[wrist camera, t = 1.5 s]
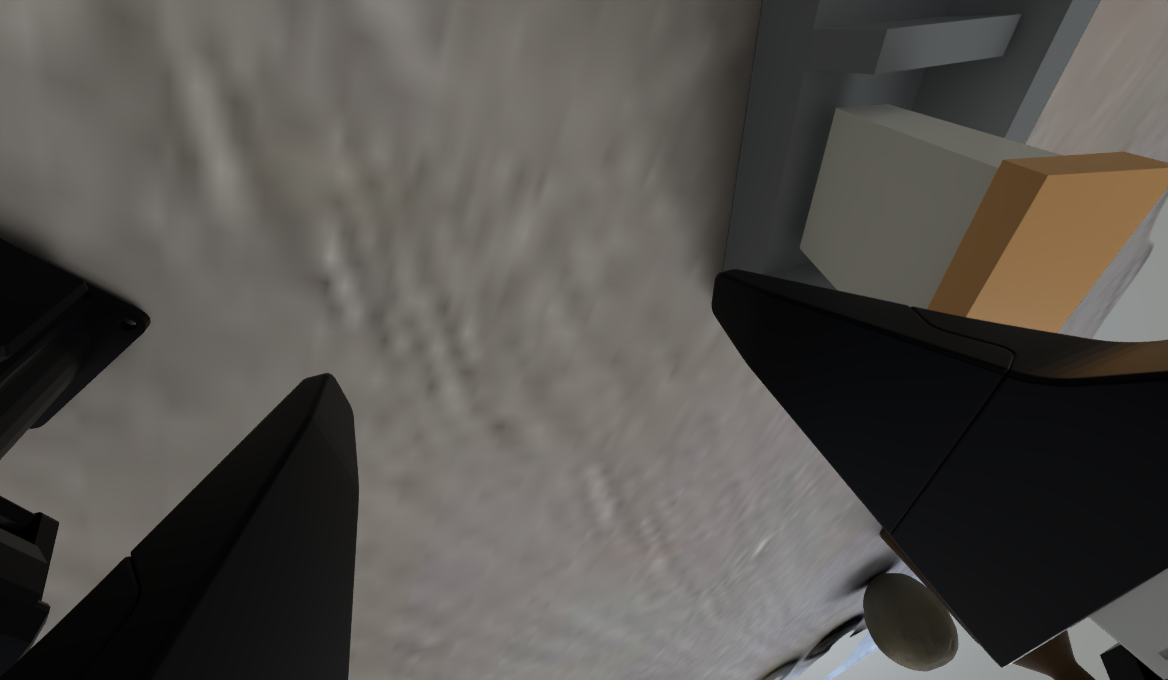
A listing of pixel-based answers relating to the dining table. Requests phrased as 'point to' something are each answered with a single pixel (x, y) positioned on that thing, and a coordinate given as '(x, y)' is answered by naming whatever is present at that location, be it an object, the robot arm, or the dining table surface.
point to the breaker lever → (969, 217)
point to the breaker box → (880, 94)
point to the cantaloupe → (909, 622)
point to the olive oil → (1044, 659)
